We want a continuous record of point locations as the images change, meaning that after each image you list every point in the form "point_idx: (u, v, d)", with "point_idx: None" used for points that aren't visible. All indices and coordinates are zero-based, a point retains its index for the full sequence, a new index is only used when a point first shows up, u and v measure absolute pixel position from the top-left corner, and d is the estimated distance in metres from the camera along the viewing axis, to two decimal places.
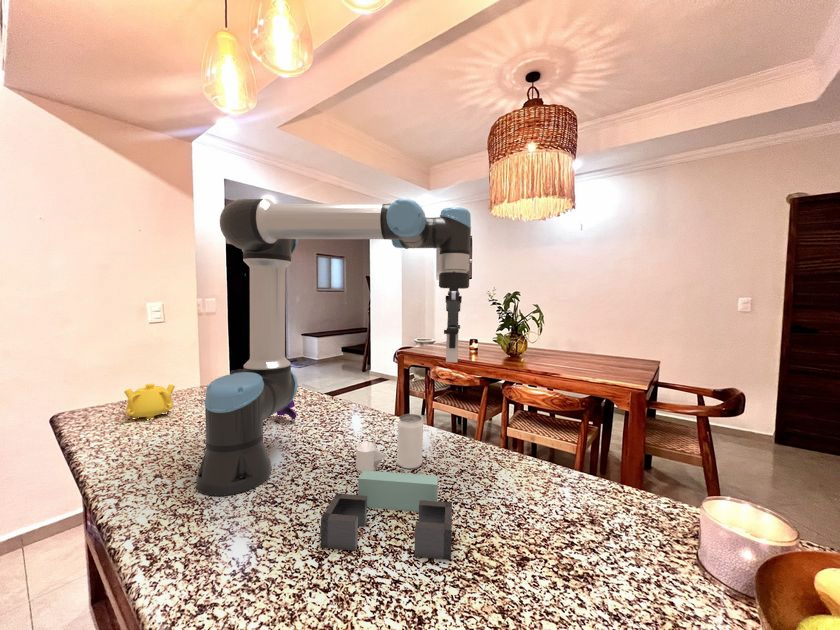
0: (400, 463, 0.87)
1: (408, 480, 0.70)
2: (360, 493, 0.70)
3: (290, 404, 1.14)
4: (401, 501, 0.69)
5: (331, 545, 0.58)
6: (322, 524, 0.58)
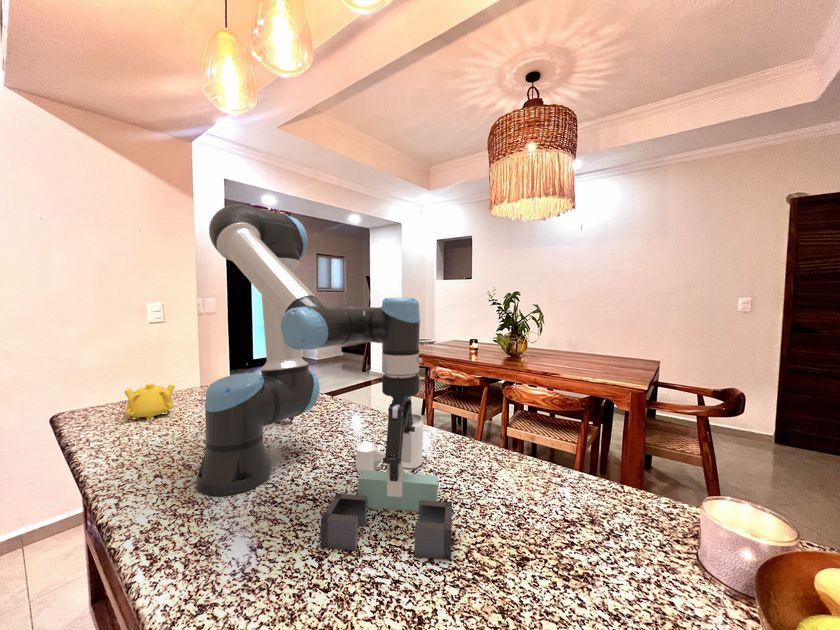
0: None
1: (408, 480, 0.70)
2: (360, 493, 0.70)
3: None
4: (401, 501, 0.69)
5: (331, 545, 0.58)
6: (322, 524, 0.58)
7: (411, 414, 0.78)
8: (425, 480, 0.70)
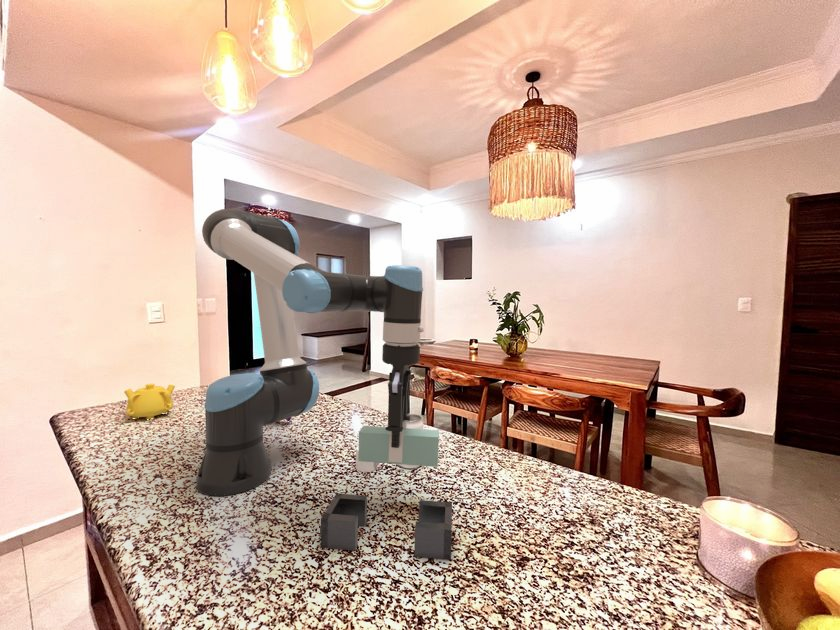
0: None
1: (408, 434, 0.69)
2: (361, 447, 0.70)
3: None
4: None
5: (331, 545, 0.58)
6: (322, 524, 0.58)
7: (408, 398, 0.75)
8: (426, 434, 0.70)
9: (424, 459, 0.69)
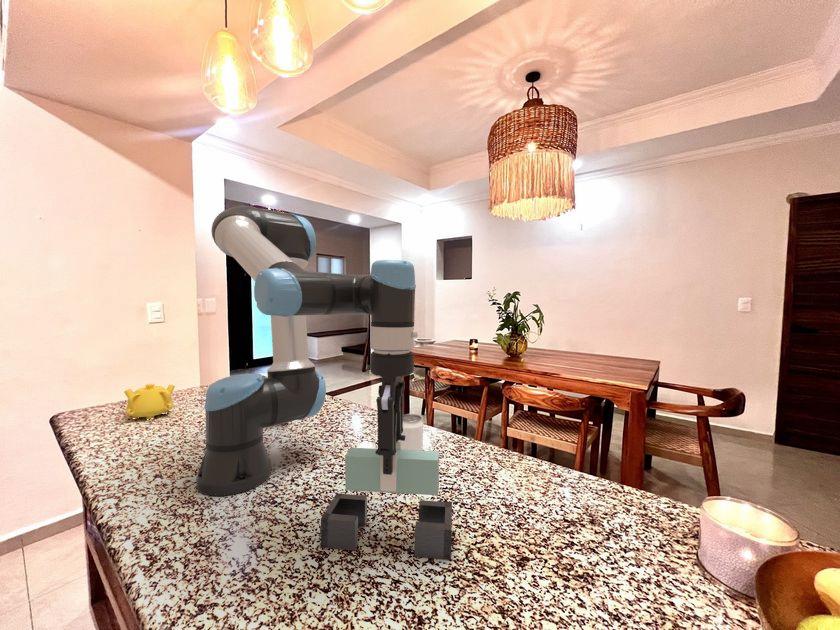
0: None
1: (403, 457, 0.59)
2: (348, 473, 0.60)
3: None
4: None
5: (331, 545, 0.58)
6: (322, 524, 0.58)
7: (402, 414, 0.65)
8: (424, 456, 0.59)
9: (422, 487, 0.58)
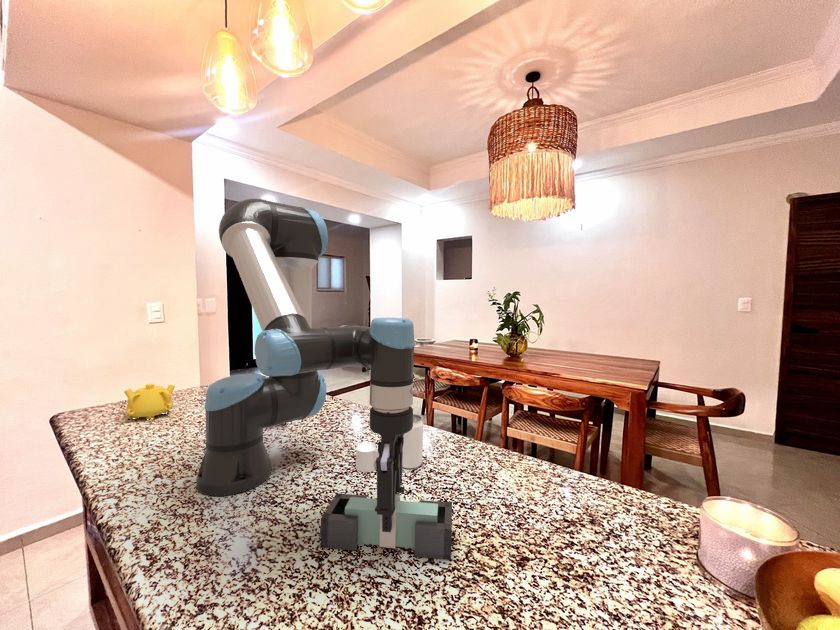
0: None
1: (403, 510, 0.60)
2: None
3: None
4: None
5: (331, 545, 0.58)
6: (322, 524, 0.58)
7: (401, 465, 0.65)
8: (423, 510, 0.60)
9: None
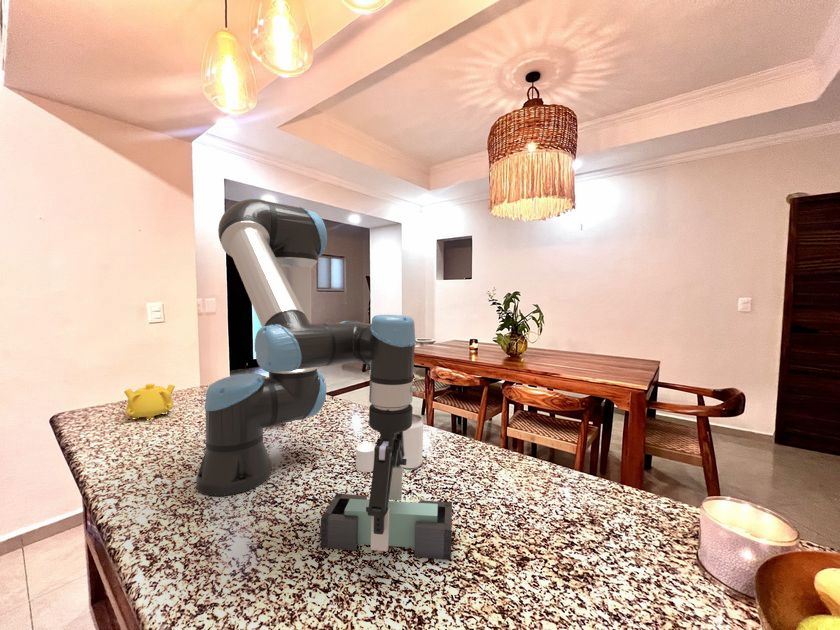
0: None
1: (403, 511, 0.60)
2: None
3: None
4: (395, 536, 0.59)
5: (331, 545, 0.58)
6: (322, 524, 0.58)
7: (403, 445, 0.69)
8: (423, 510, 0.60)
9: None
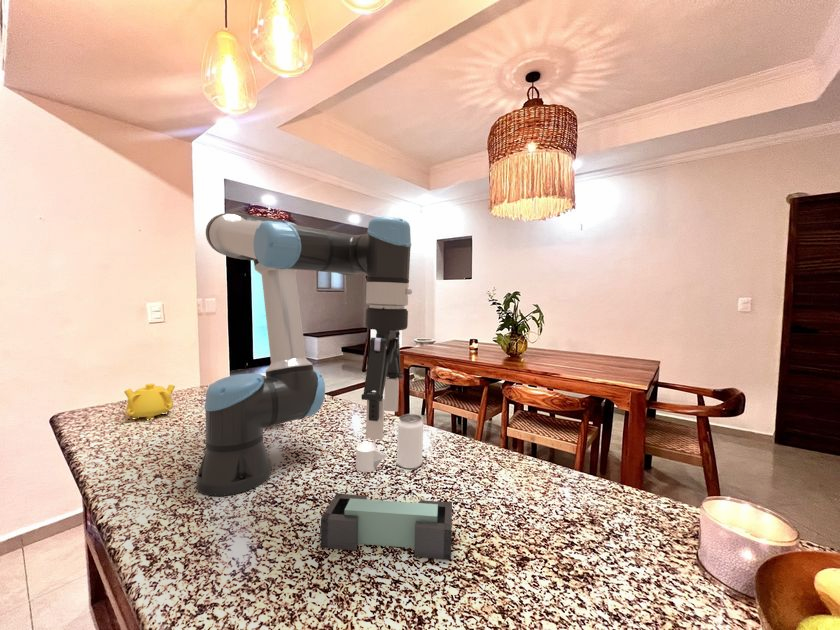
0: (400, 463, 0.87)
1: (403, 511, 0.60)
2: None
3: None
4: (395, 536, 0.59)
5: (331, 545, 0.58)
6: (322, 524, 0.58)
7: (399, 359, 0.70)
8: (423, 511, 0.60)
9: None
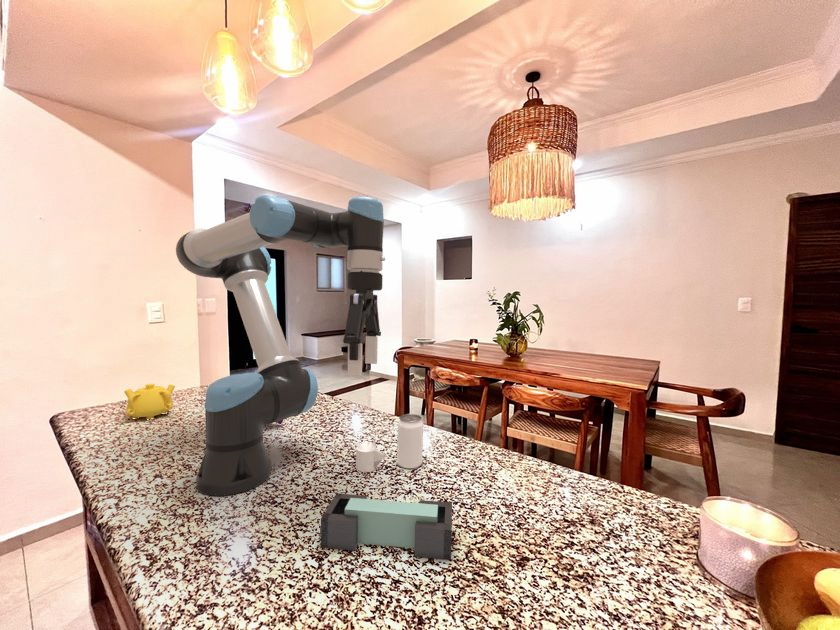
0: (400, 463, 0.87)
1: (402, 511, 0.60)
2: None
3: None
4: (394, 536, 0.59)
5: (331, 545, 0.58)
6: (322, 524, 0.58)
7: (378, 320, 0.83)
8: (423, 511, 0.60)
9: None
